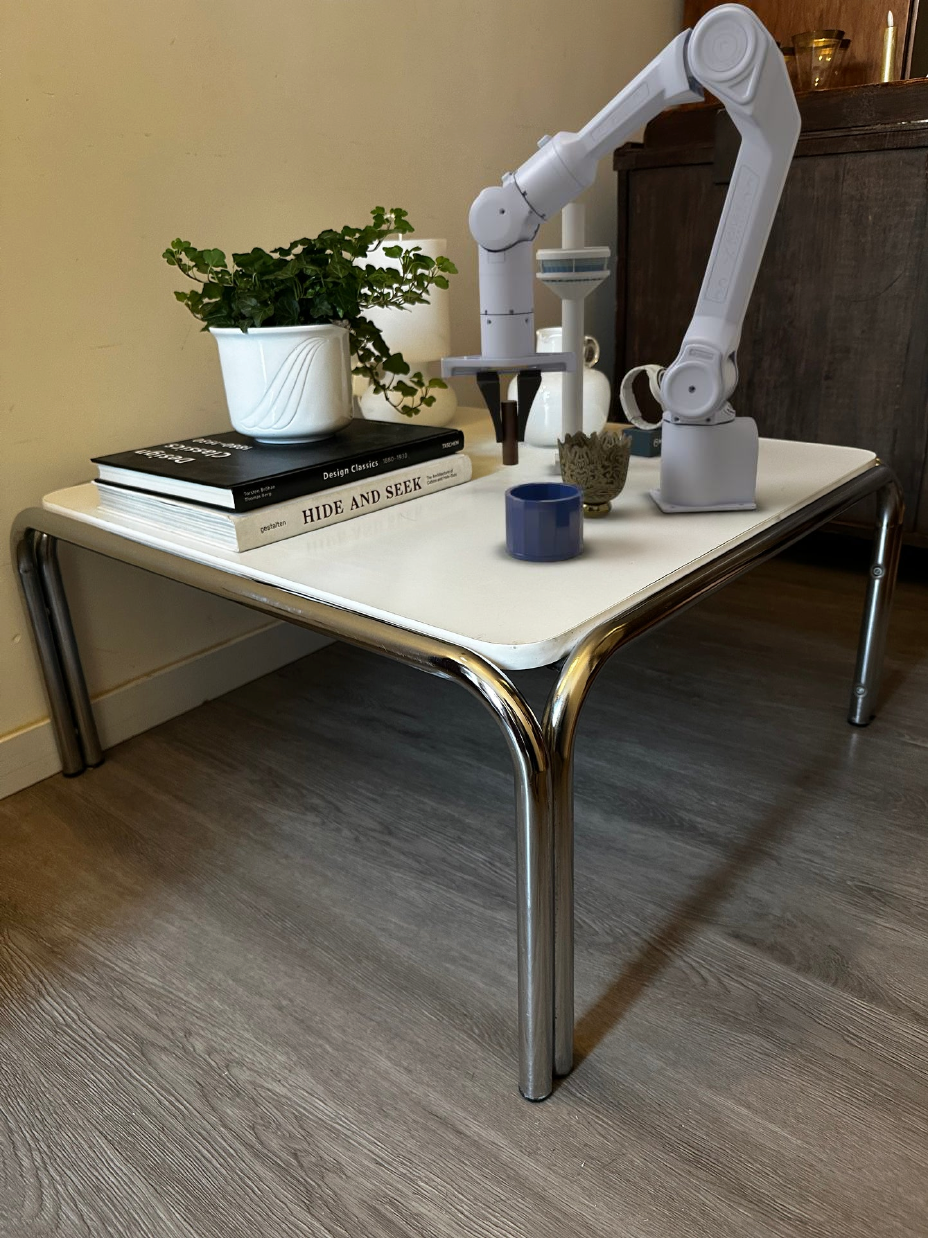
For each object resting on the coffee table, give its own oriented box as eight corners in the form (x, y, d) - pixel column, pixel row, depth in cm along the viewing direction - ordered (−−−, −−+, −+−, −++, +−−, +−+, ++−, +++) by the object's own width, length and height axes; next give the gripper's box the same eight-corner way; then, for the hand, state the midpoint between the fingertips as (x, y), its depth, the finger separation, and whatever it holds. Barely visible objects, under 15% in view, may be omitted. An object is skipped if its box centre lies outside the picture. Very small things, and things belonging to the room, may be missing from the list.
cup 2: (612, 528, 91) (613, 447, 88) (545, 519, 94) (544, 441, 91) (641, 509, 97) (643, 432, 94) (576, 502, 100) (577, 427, 97)
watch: (662, 459, 118) (666, 370, 114) (610, 451, 123) (612, 366, 119) (686, 451, 121) (690, 364, 117) (634, 444, 127) (637, 361, 123)
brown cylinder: (518, 461, 105) (516, 399, 103) (519, 465, 104) (517, 402, 101) (502, 462, 105) (500, 400, 103) (503, 466, 104) (501, 402, 101)
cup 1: (577, 537, 89) (578, 480, 87) (587, 560, 82) (587, 499, 80) (504, 539, 89) (503, 483, 87) (508, 563, 82) (506, 503, 80)
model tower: (604, 462, 117) (609, 202, 106) (608, 477, 110) (613, 200, 99) (538, 463, 118) (536, 206, 107) (537, 478, 111) (535, 203, 99)
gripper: (571, 307, 102) (571, 431, 107) (439, 313, 102) (446, 436, 107) (578, 311, 96) (578, 443, 101) (438, 318, 96) (445, 449, 101)
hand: (510, 440), depth 104 cm, fingers closed on brown cylinder, 2 cm apart
